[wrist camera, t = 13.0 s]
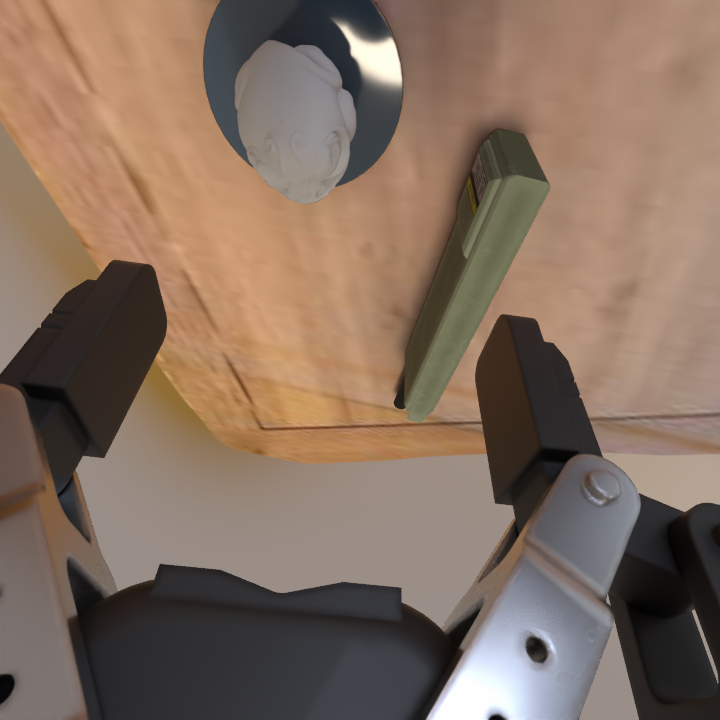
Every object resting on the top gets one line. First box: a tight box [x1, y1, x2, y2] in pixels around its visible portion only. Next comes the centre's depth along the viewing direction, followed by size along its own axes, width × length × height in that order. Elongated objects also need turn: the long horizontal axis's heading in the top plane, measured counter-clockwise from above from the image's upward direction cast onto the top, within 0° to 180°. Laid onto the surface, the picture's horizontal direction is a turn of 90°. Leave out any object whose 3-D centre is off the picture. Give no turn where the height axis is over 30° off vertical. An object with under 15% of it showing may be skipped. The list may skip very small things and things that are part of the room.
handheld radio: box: [394, 129, 550, 423], centre depth 33 cm, size 7×3×25 cm
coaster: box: [203, 0, 403, 187], centre depth 25 cm, size 11×11×1 cm
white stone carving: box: [235, 40, 356, 204], centre depth 22 cm, size 6×7×7 cm
